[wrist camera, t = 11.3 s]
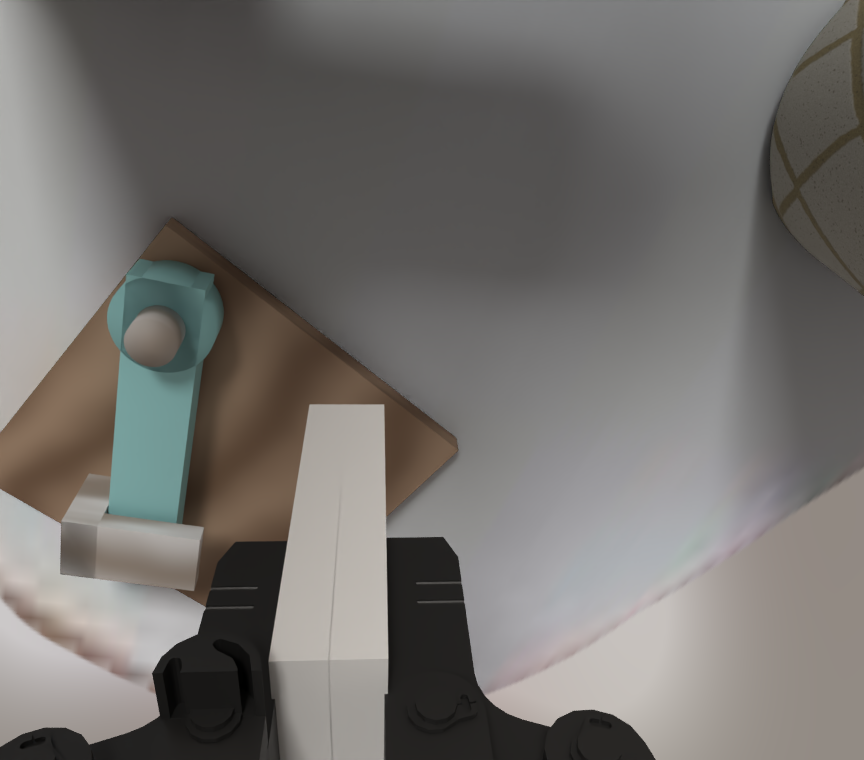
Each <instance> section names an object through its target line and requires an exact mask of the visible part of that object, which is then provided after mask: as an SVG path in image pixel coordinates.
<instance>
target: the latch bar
mask: <svg viewBox="0 0 864 760" xmlns="http://www.w3.org/2000/svg"><path fill="white" fill-rule="evenodd" d="M213 282H214V274H211V273H206V272H201V271H199V270H198V269H196V268H194V267H193V266H190V265H188V264H185V263H182V262H178V261H172V260H160V261H154V262H153V261H149V260H144V259H139V260H138V261H137V262H136V263H135V265H134V266H133V267H132V268H131V269H130V270H129V272H128V273H127V274H126V281H125V282H124V284H123V285H122V286H121V287H120V288H119V289H118V291H117V292H116V293H115V295H114V296H113V298H112V300H111V302H110V304H109V307H108V312H107V324H108V329H109V332H110V335H111V337H112V340H113V341H114V343H115V345H116V346H117V347H118V349H119V350H120V362H119V376H118V389H117V402H116V415H115V428H114V442H113V455H112V468H111V481H110V494H109V508H108V514H112V515H120V516H127V517H134V518H141V519H148V520H156V521H163V522H170V523H177V524H182V521H183V513H184V505H185V498H186V490H187V482H188V475H189V467H190V459H191V452H192V444H193V436H194V428H195V421H196V413H197V405H198V398H199V390H200V382H201V374H202V367H203V359H204V358H205V357H206V356H207V355H208V354H209V352H210V350H211V349H212V346H213V344H214V342H215V340H216V338H217V335H218V333H219V331H220V329H221V326H222V323H223V318H224V307H223V302H222V298H221V296H220V293H219V291H218V290H217V288H216V286H215V285H214V284H213ZM153 305H161V306H166V307H168V308H170V309H172V310H174V311H175V312H177V313H178V314H179V315H180V317H181V318H182V320H183V322H184V324H185V329H186V333H185V337H184V339H183V341H182V343H181V345H180V347H179V349H178V351H177V352H176V354H175V356H174V358H173V359H172V360H171V361H170V362H169V363H167V364H166V365H163V366H160V367H148V366H144V365H142V364H139V363H138V362H136V361H135V360H133V359H132V358H131V357H130V355H129V354H128V353H127V351H126V349H125V346H124V335H125V333H126V331H127V329H128V328H129V326H130V325H131V324H132V322H133V321H134V319H135V318H136V317H137V315H138V314H139V313H140V311H142V310H143V309H144V308H146V307H149V306H153Z"/></svg>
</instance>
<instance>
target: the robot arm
mask: <svg viewBox="0 0 864 760" xmlns="http://www.w3.org/2000/svg"><path fill="white" fill-rule="evenodd" d="M152 675H153V680H154V685H155V691H156V696H157V702H158V707H159V712H160V716H159V717H158V718H157V719H155V720H153V721H152V722H150V723H148V724H147V725H145V726H143V727H141V728H139V729H136V730H134V731H131V732H129V733H126V734H123V735H120V736H117V737H113V738H110V739H107V740H103V741H100V742H97V743H94V744H90V745H89V744H88V743H87V741H86V740H85V739H84V737H83V736H82V735H81V734H79V733H76V732H74V731H72V730H69V729H67V728H42V729H39V730H35V731H32V732H28V733H25V734H22V735H20V736H18V737H17V738H15V739H13V740H12V741H10V742H8V743H6V744H5V745H3V746H1V747H0V760H655V758H654V756H653V755H652V753H651V752H650V750H649V748H648V747H647V745H646V743H645V742H644V741H643V740H642V738H641V737H640V736H639V735H638V734H637V733H636V732H635V730H634V729H633V728H632V727H631V726H630V725H628V724H626V723H625V722H623V721H622V720H620V719H618V718H617V717H615V716H614V715H611V714H607V713H603V712H599V711H595V710H581V711H572V712H570V713H568V714H566V715H564V716H562V717H560V718H558V719H557V720H556V721H555V723H554V724H553V725H552V726H551V727H548V726H544V725H541V724H537V723H533V722H529V721H526V720H522V719H520V718H517V717H514V716H512V715H509V714H507V713H505V712H504V711H502V710H501V709H499V708H498V707H496V706H495V705H493V704H492V703H491V702H490V701H489V700H488V699H487V698H486V697H485V696H484V694H483V692H482V691H481V689H480V687H479V686H478V684H477V681H476V677H475V674H474V668H473V661H472V653H471V646H470V639H469V632H468V625H467V618H466V610H465V604H464V596H463V589H462V585H461V575H460V567H459V560H458V556H457V555H456V554H455V552H454V551H453V550H452V548H451V547H450V546H449V544H448V543H447V542H446V540H445V539H444V538H443V537H421V538H386V485H385V421H384V404H310V405H309V411H308V417H307V423H306V430H305V436H304V442H303V448H302V455H301V461H300V467H299V473H298V480H297V486H296V492H295V498H294V505H293V511H292V517H291V523H290V530H289V536H288V541H246V542H235V543H234V544H233V545H232V546H231V547H230V549H229V550H228V551H227V552H226V553H225V554H224V555H223V557H222V558H221V559H220V560H219V561H218V562H217V566H216V570H215V573H214V577H213V580H212V584H211V591H209V595H208V599H207V602H206V609H205V611H204V613H203V617H202V621H201V624H200V628H199V631H198V635H195V636H193V637H191V638H189V639H186V640H184V641H182V642H180V643H178V644H176V645H175V646H174V647H173V648H172V649H170V650H169V651H168V652H167V653H166V654H165V655H163V656H162V657H161V659H160V661H159V662H158V664H157V666H156V668H155V669H154V671H153V673H152Z"/></svg>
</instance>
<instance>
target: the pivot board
mask: <svg viewBox="0 0 864 760" xmlns="http://www.w3.org/2000/svg"><path fill="white" fill-rule="evenodd" d="M139 259H144V260H149V261H153V262H154V261H160V260H172V261H178V262H182V263H185V264H188V265H190V266H193V267H194V268H196V269H198V270H199V271H201V272H206V273H211V274H214V282H213V284H214V285H215V286H216V288H217V290H218V291H219V293H220V296H221V298H222V302H223V307H224V318H223V323H222V326H221V329H220V331H219V333H218V335H217V338H216V340H215V342H214V344H213V346H212V349H211V350H210V352H209V354H208V355H207V356H206V357H205V358H204V359H203V367H202V374H201V382H200V390H199V398H198V405H197V413H196V421H195V428H194V436H193V444H192V452H191V459H190V467H189V475H188V482H187V490H186V498H185V505H184V513H183V521H182V524H177V523H170V522H163V521H156V520H148V519H141V518H134V517H127V516H120V515H112V514H108V508H109V494H110V481H111V468H112V455H113V442H114V428H115V415H116V402H117V389H118V376H119V362H120V350H119V349H118V347H117V346H116V345H115V343H114V341H113V340H112V337H111V335H110V332H109V329H108V324H107V312H108V307H109V304H110V302H111V300H112V298H113V296H114V295H115V293H116V292H117V291H118V289H119V288H120V287H121V286H122V285H123V284H124V282H125V281H126V275H125V277H124V278H123V279H122V280H121V282H120V283H119V284H118V285H117V287H116V288H115V289H114V290H113V292H112V293H111V294H110V295H109V297H108V298H107V299H106V301H105V302H104V303H103V304H102V306H101V307H100V308H99V309H98V311H97V312H96V313H95V314H94V316H93V317H92V318H91V319H90V321H89V322H88V323H87V324H86V326H85V327H84V328H83V329H82V331H81V332H80V333H79V335H78V336H77V337H76V338H75V340H74V341H73V342H72V343H71V345H70V346H69V347H68V348H67V350H66V351H65V352H64V353H63V355H62V356H61V357H60V358H59V360H58V361H57V362H56V364H55V365H54V366H53V367H52V369H51V370H50V371H49V372H48V374H47V375H46V376H45V377H44V379H43V380H42V381H41V382H40V384H39V385H38V386H37V387H36V389H35V390H34V391H33V393H32V394H31V395H30V396H29V398H28V399H27V400H26V401H25V403H24V404H23V405H22V406H21V408H20V409H19V410H18V411H17V413H16V414H15V415H14V416H13V418H12V419H11V420H10V422H9V423H8V424H7V425H6V427H5V428H4V429H3V430H2V432H1V433H0V489H2V490H3V491H5V492H7V493H9V494H10V495H12V496H14V497H16V498H17V499H19V500H21V501H23V502H24V503H26V504H28V505H30V506H31V507H33V508H35V509H36V510H38V511H40V512H42V513H43V514H45V515H47V516H49V517H50V518H52V519H54V520H56V521H57V522H59V523H61V560H60V574H63V575H71V576H79V577H87V578H95V579H102V580H110V581H118V582H126V583H134V584H142V585H150V586H158V587H166V588H174V589H176V590H178V591H179V592H181V593H183V594H184V595H186V596H188V597H190V598H191V599H193V600H195V601H197V602H198V603H200V604H202V605H204V606H205V607H206V602H207V599H208V595H209V591H211V584H212V580H213V577H214V573H215V570H216V566H217V562H218V561H219V560H220V559H221V558H222V557H223V555H224V554H225V553H226V552H227V551H228V550H229V549H230V547H231V546H232V545H233V544H234V543H235V542H246V541H288V536H289V530H290V523H291V517H292V511H293V505H294V498H295V492H296V486H297V480H298V473H299V467H300V461H301V455H302V448H303V442H304V436H305V430H306V423H307V417H308V411H309V405H310V404H384V421H385V485H386V517H387V516H388V515H389V514H390V513H391V512H392V511H393V510H394V509H395V508H397V507H398V506H399V505H400V504H401V503H402V502H403V501H404V500H405V499H406V498H407V497H408V496H410V495H411V494H412V493H413V492H414V491H415V490H416V489H417V488H418V487H419V486H420V485H421V484H423V483H424V482H425V481H426V480H427V479H428V478H429V477H430V476H431V475H432V474H433V473H434V472H435V471H437V470H438V469H439V468H440V467H441V466H442V465H443V464H444V463H445V462H446V461H447V460H448V459H450V458H451V457H452V456H453V455H454V454H455V453H456V452H457V451H458V445H457V439H456V437H454V436H453V435H452V434H451V433H449V432H448V431H447V430H445V429H444V428H443V427H442V426H440V425H439V424H438V423H436V422H435V421H434V420H433V419H431V418H430V417H429V416H427V415H426V414H425V413H423V412H422V411H421V410H420V409H418V408H417V407H416V406H414V405H413V404H412V403H411V402H409V401H408V400H407V399H405V398H404V397H403V396H402V395H400V394H399V393H398V392H396V391H395V390H394V389H393V388H391V387H390V386H389V385H387V384H386V383H385V382H384V381H382V380H381V379H380V378H378V377H377V376H376V375H375V374H373V373H372V372H371V371H369V370H368V369H367V368H366V367H364V366H363V365H362V364H360V363H359V362H358V361H357V360H355V359H354V358H353V357H351V356H350V355H349V354H348V353H346V352H345V351H344V350H342V349H341V348H340V347H339V346H337V345H336V344H335V343H333V342H332V341H331V340H330V339H328V338H327V337H326V336H324V335H323V334H322V333H320V332H319V331H318V330H317V329H315V328H314V327H313V326H311V325H310V324H309V323H308V322H306V321H305V320H304V319H302V318H301V317H300V316H299V315H297V314H296V313H295V312H293V311H292V310H291V309H290V308H288V307H287V306H286V305H284V304H283V303H282V302H281V301H279V300H278V299H277V298H275V297H274V296H273V295H272V294H270V293H269V292H268V291H266V290H265V289H264V288H263V287H261V286H260V285H259V284H257V283H256V282H255V281H254V280H252V279H251V278H250V277H248V276H247V275H246V274H245V273H243V272H242V271H241V270H239V269H238V268H237V267H236V266H234V265H233V264H232V263H230V262H229V261H228V260H227V259H225V258H224V257H223V256H221V255H220V254H219V253H217V252H216V251H215V250H214V249H212V248H211V247H210V246H208V245H207V244H206V243H205V242H203V241H202V240H201V239H199V238H198V237H197V236H196V235H194V234H193V233H192V232H190V231H189V230H188V229H187V228H185V227H184V226H183V225H181V224H180V223H179V222H178V221H176V220H175V219H174V218H171V219H170V220H169V221H168V223H167V224H166V225H165V226H164V227H163V229H162V230H161V231H160V232H159V234H158V235H157V236H156V237H155V239H154V240H153V241H152V243H151V244H150V245H149V246H148V248H147V249H146V250H145V251H144V253H143V254H142V255H141V256H140V258H139ZM139 259H138V260H139ZM138 260H137V261H138ZM137 261H136V262H137ZM134 265H135V264H134ZM134 265H133V266H134ZM133 266H132V267H133ZM185 333H186V329H185V324H184V322H183V320H182V318H181V317H180V315H179V314H178V313H177V312H175V311H174V310H172V309H170V308H168V307H166V306H161V305H153V306H149V307H146V308H144V309H143V310H142V311H140V313H139V314H138V315H137V317H136V318H135V319H134V321H133V322H132V324H131V325H130V326H129V328H128V329H127V331H126V333H125V335H124V346H125V349H126V351H127V353H128V354H129V355H130V357H131V358H132V359H133V360H135V361H136V362H138V363H139V364H142V365H144V366H148V367H160V366H163V365H166V364H167V363H169V362H170V361H171V360H172V359H173V358H174V356H175V354H176V352H177V351H178V349H179V347H180V345H181V343H182V341H183V339H184V337H185Z"/></svg>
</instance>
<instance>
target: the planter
mask: <svg viewBox="0 0 864 760" xmlns="http://www.w3.org/2000/svg"><path fill="white" fill-rule="evenodd" d="M770 174H771V185H772V201H773V205H774V207H775V210H776V212H777V214H778V215H779V217H780V219H781V220H782V222H783V224H784V225H785V226H786V228H787V229H788V231H789V232H790V233H791V234H792V235H793V236H794V237H795V239H796V240H797V241H798V242H799V243H800V244H801V245H802V246H803V247H804V248H805V249H806V250H807V251H808V252H809V253H810V254H811V255H812V256H814V257H815V258H816V259H817V260H819V261H820V262H821V263H823V264H824V265H825V266H826V267H828V268H829V269H830V270H832V271H833V272H834V273H836V274H837V275H838V276H839V277H841V278H842V279H843V280H844V281H846V282H847V283H848V284H849V285H851V286H852V287H853V288H854V289H856V290H857V291H858V292H859V293H861V294H862V295H863V296H864V0H846V1H845V3H844V5H843V6H842V7H841V9H840V10H839V11H838V12H837V13H836V14H835V16H834V17H833V18H832V19H831V20H830V21H829V23H828V24H827V25H826V26H825V27H824V28H823V30H822V31H821V32H820V33H819V35H818V36H817V37H816V38H815V40H814V41H813V43H812V44H811V45H810V47H809V48H808V49H807V51H806V52H805V54H804V55H803V57H802V59H801V60H800V62H799V63H798V65H797V67H796V69H795V71H794V73H793V74H792V76H791V78H790V81H789V83H788V85H787V87H786V89H785V92H784V94H783V97H782V99H781V102H780V105H779V108H778V111H777V115H776V119H775V123H774V127H773V133H772V138H771V148H770Z"/></svg>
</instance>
